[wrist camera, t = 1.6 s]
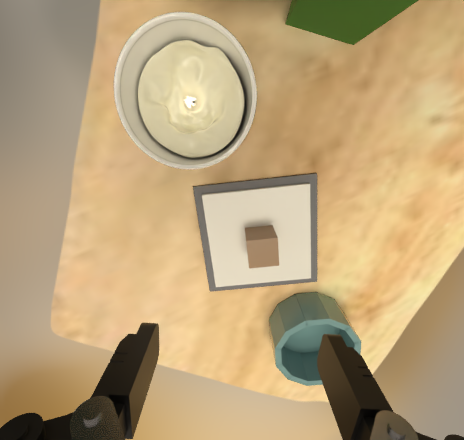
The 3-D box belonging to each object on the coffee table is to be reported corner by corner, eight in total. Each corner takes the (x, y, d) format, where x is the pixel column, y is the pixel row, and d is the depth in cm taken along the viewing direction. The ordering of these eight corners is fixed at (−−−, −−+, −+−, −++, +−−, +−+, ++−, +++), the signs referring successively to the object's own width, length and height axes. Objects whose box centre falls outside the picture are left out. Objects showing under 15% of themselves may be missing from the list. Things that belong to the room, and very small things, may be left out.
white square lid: (308, 182, 31) (321, 191, 27) (309, 275, 36) (320, 296, 31) (202, 194, 32) (197, 204, 28) (216, 284, 36) (213, 306, 32)
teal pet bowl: (344, 289, 37) (363, 315, 32) (342, 349, 40) (358, 381, 35) (267, 296, 37) (272, 323, 32) (271, 355, 41) (277, 388, 36)
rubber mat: (316, 173, 31) (317, 173, 31) (316, 279, 36) (317, 281, 36) (193, 186, 32) (192, 187, 32) (210, 289, 37) (209, 291, 37)
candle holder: (167, 47, 27) (121, -11, 16) (257, 74, 28) (275, 36, 17) (153, 142, 30) (106, 150, 19) (234, 163, 31) (236, 184, 20)
